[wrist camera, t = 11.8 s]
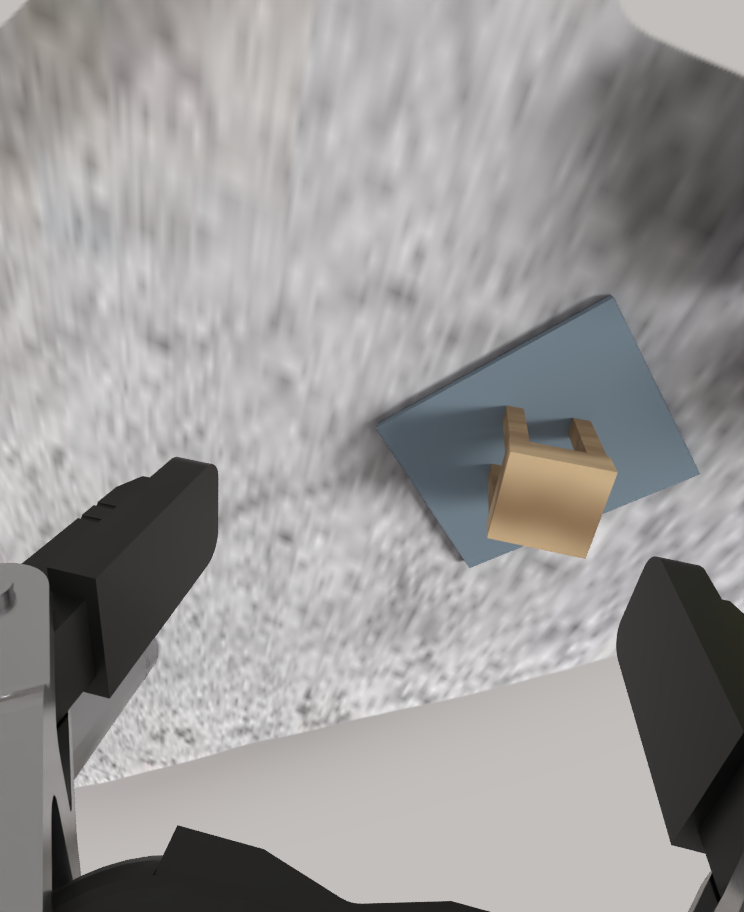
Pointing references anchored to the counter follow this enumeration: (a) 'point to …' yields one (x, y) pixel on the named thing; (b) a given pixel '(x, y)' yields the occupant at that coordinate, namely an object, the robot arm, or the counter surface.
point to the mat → (539, 422)
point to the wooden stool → (548, 489)
